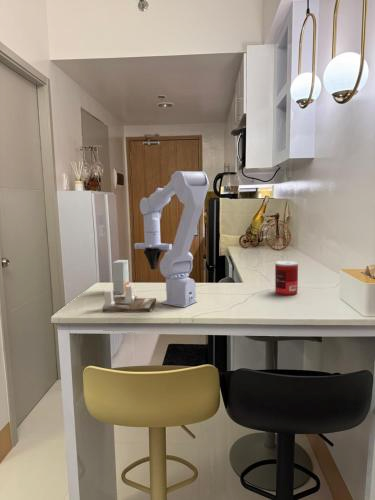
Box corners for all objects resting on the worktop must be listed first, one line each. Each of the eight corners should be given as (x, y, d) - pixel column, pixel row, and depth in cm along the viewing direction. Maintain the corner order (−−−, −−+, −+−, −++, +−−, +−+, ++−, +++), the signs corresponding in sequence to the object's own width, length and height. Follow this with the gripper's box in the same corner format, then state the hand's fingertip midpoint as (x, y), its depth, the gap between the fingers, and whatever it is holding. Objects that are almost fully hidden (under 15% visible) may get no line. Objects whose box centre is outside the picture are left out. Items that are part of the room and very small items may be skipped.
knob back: (135, 298, 125) (134, 284, 124) (133, 300, 122) (132, 286, 122) (126, 298, 125) (126, 284, 125) (124, 300, 122) (124, 286, 122)
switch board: (156, 301, 126) (156, 295, 126) (149, 311, 114) (149, 306, 114) (113, 301, 127) (113, 296, 127) (102, 312, 115) (102, 306, 115)
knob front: (115, 303, 119) (114, 289, 118) (112, 306, 116) (111, 291, 116) (106, 303, 119) (105, 289, 119) (103, 306, 117) (103, 291, 116)
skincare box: (124, 294, 136) (122, 262, 134) (113, 294, 137) (111, 262, 135) (130, 290, 142) (128, 259, 140) (119, 290, 143) (117, 259, 141)
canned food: (299, 290, 133) (299, 261, 132) (295, 296, 126) (296, 265, 125) (277, 289, 137) (277, 260, 135) (273, 294, 129) (273, 264, 128)
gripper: (129, 232, 131) (131, 269, 133) (164, 233, 125) (166, 272, 127) (139, 230, 138) (141, 266, 140) (174, 231, 132) (175, 268, 134)
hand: (153, 268), depth 134 cm, fingers closed
